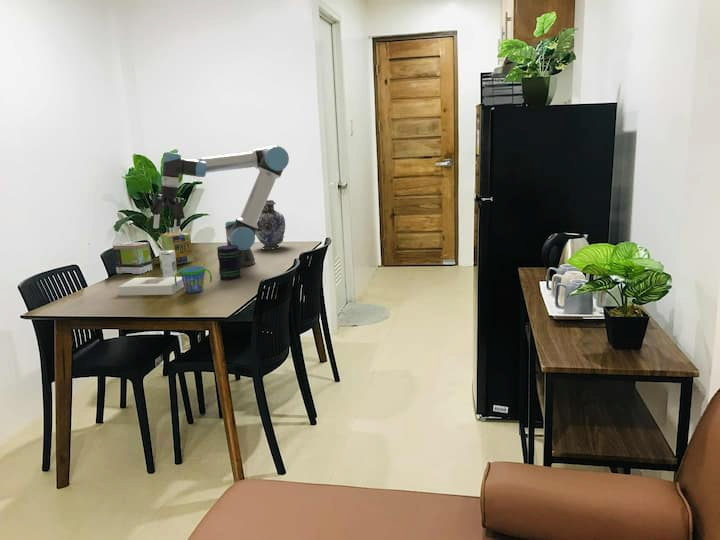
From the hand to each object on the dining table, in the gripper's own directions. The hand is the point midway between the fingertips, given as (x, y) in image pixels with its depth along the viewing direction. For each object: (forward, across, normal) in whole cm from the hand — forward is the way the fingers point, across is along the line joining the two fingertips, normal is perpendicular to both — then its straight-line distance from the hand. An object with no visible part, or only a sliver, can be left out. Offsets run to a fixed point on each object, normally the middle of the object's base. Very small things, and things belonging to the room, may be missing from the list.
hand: (165, 230), depth 283 cm
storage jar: (+18, +32, +13) cm, 38 cm away
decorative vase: (+12, +3, +79) cm, 80 cm away
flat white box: (+24, +14, -17) cm, 33 cm away
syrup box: (+23, +8, -2) cm, 25 cm away
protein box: (+22, -23, +33) cm, 46 cm away
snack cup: (+21, +33, -12) cm, 41 cm away
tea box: (+26, -26, +6) cm, 38 cm away
